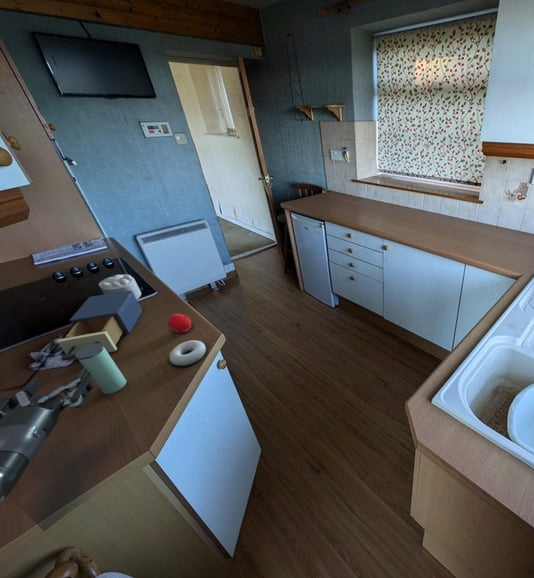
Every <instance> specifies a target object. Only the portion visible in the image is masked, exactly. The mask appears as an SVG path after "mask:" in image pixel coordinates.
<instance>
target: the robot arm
mask: <svg viewBox="0 0 534 578" xmlns="http://www.w3.org/2000/svg"><path fill="white" fill-rule="evenodd" d="M90 378H91V373H90V372H89V371H88V370H87V369H86V368H84V367H83V368H80V369H79V371H78V373H77V374H76V375H75V377H74V378H73V381H71V382H69V383H68V384H67V385H62V386H60V387H59V388H57V389H55V390H54V391H51V392H47V393H44V394H38V395H37V393H38V392H39V390H40V389H41V387H42V386H43V381H42V380H40V378H39V377H35V378H32V379H31V380H30V381H29V382H28V383H26V385H25V386H23V389H22V390H20V391H18V392H17V393H16V394H15V395H13V396H11V395H7V396H4V397H2V399H1V400H0V502H1V501H3V500H4V499H6V498H7V497H8V496H9V495H10V493H11V492H12V491H13V490H14V489H15V487H16V486H17V484H18V483H19V481H20V480H21V478H22V476H23V475H24V473H25V472H26V470H27V468H28V466H29V465H30V464H31V463H32V462H33V461H34V459H35V458H36V457H37V455H38V454H39V453H40V451H41V449H42V448H43V446H44V445H45V443H46V442H47V440H48V438H49V437H50V435H51V434H52V432H53V431H54V429H55V427H56V425H57V424H58V420H59V415H60V414H61V412H64V411H65V409H67V408H72V407H74V408H75V409H80V408H82V407H83V406H84V405H85V403H86V401H87V400H88V398H89V397H90V395H91V394H92V392H93V391H94V389H95V387H96V386H95V385H94V384H93V383H92V381H91V380H90ZM73 388H75V389H73ZM72 389H73V390H72ZM61 394H64V395H65V397H64V398H63V397H62V395H61Z"/></svg>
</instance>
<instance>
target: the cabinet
mask: <svg viewBox="0 0 534 578" xmlns="http://www.w3.org/2000/svg"><path fill="white" fill-rule="evenodd" d="M142 312H143V309H142V307H141V305H140V303H139V301H138V299H136V297H135V295H134V293H133V291H125V292H118V293H112V294H105V295H104V294H99V295H93V296H88V298H87V300H85V301H84V302H83V304H82V305H81V306H80V307H79V308H78V310H77V311H76V312H75V313H74V314H73V315H72V317H71V318H70V319H69V322H70V324H71V325H72V327H74V325H75V324H76V323H77V322H78V321H83V320H89V319H95V318H101V317H107V316H113V315H116V317H117V318H118V320H119V322H120V324H121V325H122V327H123V329H124V331H123V333H122V335H121V336H125V335H130V334H131V333H132V330H133V329H134V327H135V325H136V324H137V321H138V320H139V318H140V316H141V314H142Z"/></svg>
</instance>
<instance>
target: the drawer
mask: <svg viewBox="0 0 534 578" xmlns="http://www.w3.org/2000/svg"><path fill="white" fill-rule="evenodd" d="M123 331H124V329H123V327H122V325H121V324H120V322H119V320H118V318H117V317H116V315H113V316H107V317H101V318H95V319H89V320H83V321H78V322H77V323H76V324H75V325H74V326H72V327H71V329H70V330H69V332H68V333H67V334H66V335H65V338H59V339H58V340H57V342H56V343H57V344H58V345H59V347H60V349H62V351H63V352H64V353H65V355H62V356H61V360H62V361H69V360H70V361H72V360H78V359H77V358H76V356H75V355H76V353H77V352H78V351H79V350H80V349H82V348H83V347H85V346H88V345H91V344H95V343H100V344H103V346H104V348H105V349H106V351H107V352H108V353H112V352H116V351H117V350H118V347H117V346H116V345H117V343H119V340H120V339H121V337H122V336H123V335H122V333H123Z"/></svg>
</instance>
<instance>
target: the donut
mask: <svg viewBox="0 0 534 578" xmlns="http://www.w3.org/2000/svg"><path fill="white" fill-rule="evenodd" d="M206 351H207V347H206V345H205V343H204V342H203V341H201V340H196V339H195V340H192V339H191V340H187V341H184V342H181V343H179V344H177V345H176V346H175V347H173V349H172V350H171V351H170V353H169V361H170V363H171V364H173V365H174V366H178V367H186V366H190V365H192V364H194V363H196V362H198V361H199V360H200V359H202V358H203V357H204V356H205V354H206ZM188 352H189V353H188Z"/></svg>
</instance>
